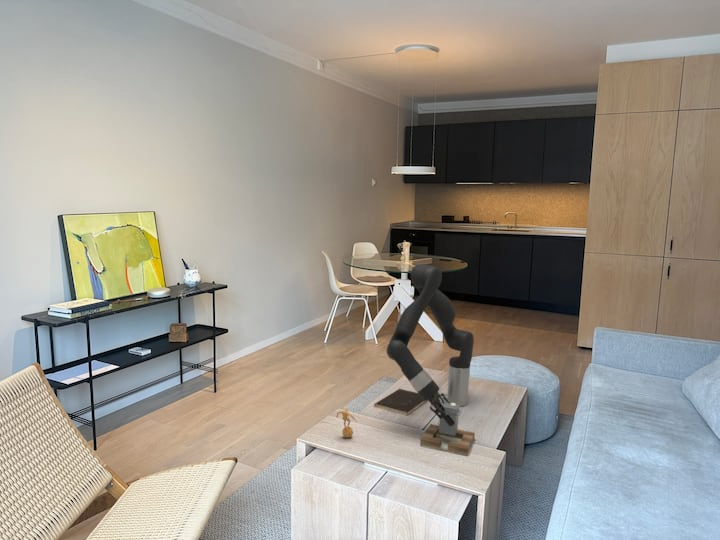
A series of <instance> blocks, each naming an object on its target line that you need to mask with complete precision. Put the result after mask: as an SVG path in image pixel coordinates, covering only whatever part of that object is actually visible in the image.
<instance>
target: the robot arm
mask: <svg viewBox="0 0 720 540" xmlns="http://www.w3.org/2000/svg"><path fill="white" fill-rule="evenodd" d="M410 279H411V282H412V285H413V286H414V288H415V289H416V290H417V291H418V292H419V295H418V297H417V298H416V299H414V300H413V302H411V303H410V304H409V305H408V306H407V307H406V308H405V309H404V310H403V312H402V314H401V315H400V318H399V320H398V322H397V324H396V327H395V330H394V333H393V335H392V337H391V339H390V340H389V343H388V344H387V348H386V355H387V356H388V358H389V359H391V360H393V361H395V362H396V364H397V365H398V366H399V368H400V370H401V372H402V374H403V376H404V377H405V378H406V379H407V380H408V382H409V383H410V385H411V386H412V387H413V389H414V391H415V392H416V393H418V394H419V395H420V396H421V398H422V399H423V400H424V401H426V400H427V401H428V402H429V404H431V405H430V406H429V409H430V410H431V411H432V412H433V413H434V414H435V415H436V417H438V418H439V420H440V419H441V418H442V419H443V418H444V420H445V421H446V422H447V423H448V425H449V426H452V425H454V423H455V422H454V421H453V420H452V418H451V417H450V416H449V415H448V413H447V412H446V410H445V406H444V405H443V404H444V403H446V404H447V403H449V404H451V403H455V404H456V405H459V407H464V406H467V405H468V400H469V399H468V398H469V385H470V373H471V371H470V370H471V362H472V357H473V350H474V342H475V340H474V339H475V338H474V335H473V332H471V331H467V330H463V329H458V328H457V327H455V325H454V322H455V319H456V315H457V314H456V313H457V311H456V310H455V307H454V305H453V303H452V302H451V300H450V298H449V297H448V296H446V295H445V294H444V293H443V292H442V291H440V289H439V286H440V285H441V283H442V279H443V272H442V270H441V269H440V268H439V267H438V266H433V265H427V264H415V265H414V266H413V267H412V269H411V271H410ZM427 306H428V308H429V310H430V312H431V314H432V317H434V319H435V321H436V322H437V324H438V326H439V328H440V330H441V332H442V335H443V338H444V340H445V343H446V344H447V346H448V347H449V348H450V349H452V350H454V351H459V355H458V356H452V357H450V358H449V362H448V376H447V388H446V389H447V392H446V395H445V394H444V392H442V393H439V391H440V387H439V386H438V384H437V383H436V382H435V380H434V379H433V378H432V376H431V375H430V374H429V373H428V372H427V371H426V370H425V369H424V368H423V367H422V365H421V364H420V363H419V362H418V361H417V359H416V358H415V357H414V354H413V353H412V351H411V349H409V347H408V345H409V343H410V340H411V338H412V336H413V335H414V333H415V330H416V329H417V326H418V323H419V321H420V319H421V317H422V315H423V313H424V311H425V310H426V308H427ZM427 401H426V402H427ZM441 406H442V408H441V409H440V407H441ZM443 411H444V412H443Z"/></svg>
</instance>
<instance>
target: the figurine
mask: <svg viewBox="0 0 720 540" xmlns="http://www.w3.org/2000/svg"><path fill="white" fill-rule="evenodd" d="M348 410H349V409H348V407H345V408H344V409H343V410H340V411H338V412H337V413H336V418H338V417H339V414H341V415H342V421H343V426H344V427H343V428H342V433H341V434H342V436H343V437H344V438H351V437H352V436H353V434H354V430H353V428H352V427H351V426H350V423H351V420H350V418H349V417H351V418H352V419H353V420H354V421H355V422H357V419H356V418H355V417H354V416H353V415H352V414H351V413H350V412H349V411H348ZM348 416H349V417H348ZM346 421H347V422H348V423H346ZM346 424H347V425H346Z"/></svg>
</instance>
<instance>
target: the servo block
mask: <svg viewBox="0 0 720 540" xmlns="http://www.w3.org/2000/svg"><path fill="white" fill-rule="evenodd" d="M443 405H444V406H445V410H446V412H447V413H448V415H449V416H450V417H451V418H452V420H453V421H454V422H455V423H454V425H452V426H449V425H448V423H447V422H446V421H445V420H444V418H443V419H442V418H441V419H440V418H439V423H438V425H439V433H443V434H448V435H453V436H455V435H456V433H457V429H459V427H458V426H459V417H460V416H461V414H462V412H463V411H462V410H461V409H460V406H459V405H456V404H455V403H451V404H449V403H447V404H446V403H444V404H443ZM441 408H442V406H441V407H440V409H441ZM443 412H444V411H443Z"/></svg>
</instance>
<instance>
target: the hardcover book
mask: <svg viewBox="0 0 720 540" xmlns="http://www.w3.org/2000/svg"><path fill="white" fill-rule="evenodd" d="M426 402H428V400H426V401H424V400H423V399H422V398H421V396H420V395H419V394H418V393H417V392H416V391H411V390H407V389H402V388H398V389H397V390H395V391H393V392H391V393H390V394H389V395H387V396H385V397H383V398H382V399H380V400H378V401H377V402H375V403H374V407H375V408H378V409H383V410H385V411H391V412H393V413H397V414H401V415H405V416H408V415H409V414H411V413H412V412H413V411H415V410H416V409H418V408H420V407H421V406H422V405H423V404H425V403H426Z"/></svg>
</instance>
